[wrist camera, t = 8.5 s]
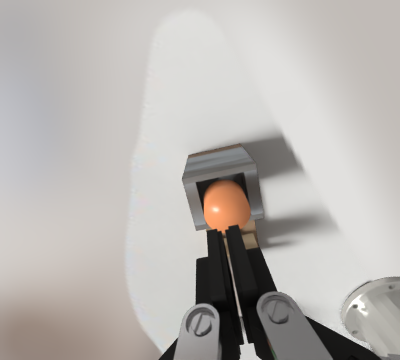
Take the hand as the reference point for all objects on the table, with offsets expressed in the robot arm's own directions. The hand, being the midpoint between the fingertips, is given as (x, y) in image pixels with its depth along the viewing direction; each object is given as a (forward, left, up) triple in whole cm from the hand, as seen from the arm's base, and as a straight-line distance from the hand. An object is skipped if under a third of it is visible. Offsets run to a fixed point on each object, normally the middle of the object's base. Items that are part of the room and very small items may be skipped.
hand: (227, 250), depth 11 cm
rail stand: (-5, 0, -15) cm, 16 cm away
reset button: (0, 0, -7) cm, 7 cm away
